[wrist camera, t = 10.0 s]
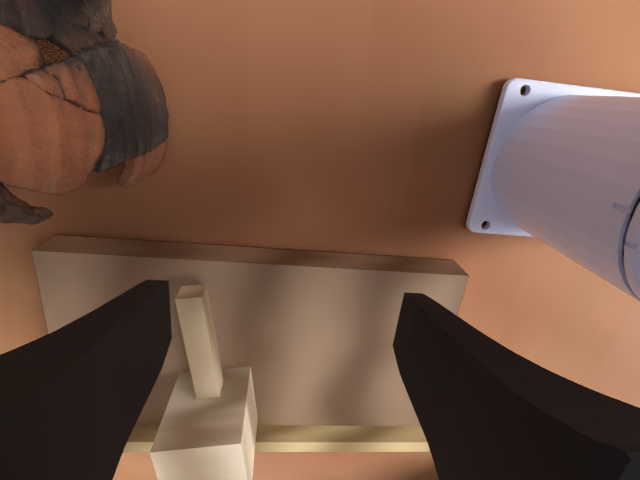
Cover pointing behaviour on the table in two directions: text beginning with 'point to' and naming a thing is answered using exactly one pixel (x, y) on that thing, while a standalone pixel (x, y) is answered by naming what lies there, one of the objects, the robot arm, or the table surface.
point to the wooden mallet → (206, 406)
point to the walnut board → (271, 331)
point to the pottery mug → (72, 103)
